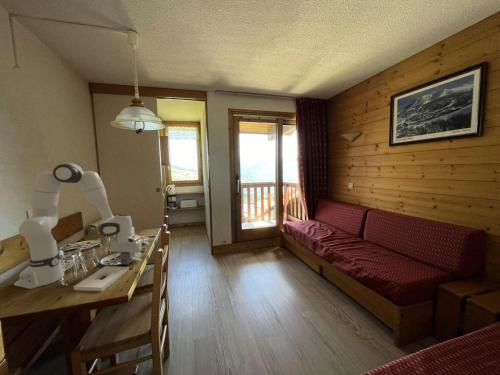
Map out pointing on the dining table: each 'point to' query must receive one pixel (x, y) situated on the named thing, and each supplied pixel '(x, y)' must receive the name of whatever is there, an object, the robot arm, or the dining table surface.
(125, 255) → the servo block
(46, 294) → the dining table surface
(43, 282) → the robot arm
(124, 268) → the pocket plate
